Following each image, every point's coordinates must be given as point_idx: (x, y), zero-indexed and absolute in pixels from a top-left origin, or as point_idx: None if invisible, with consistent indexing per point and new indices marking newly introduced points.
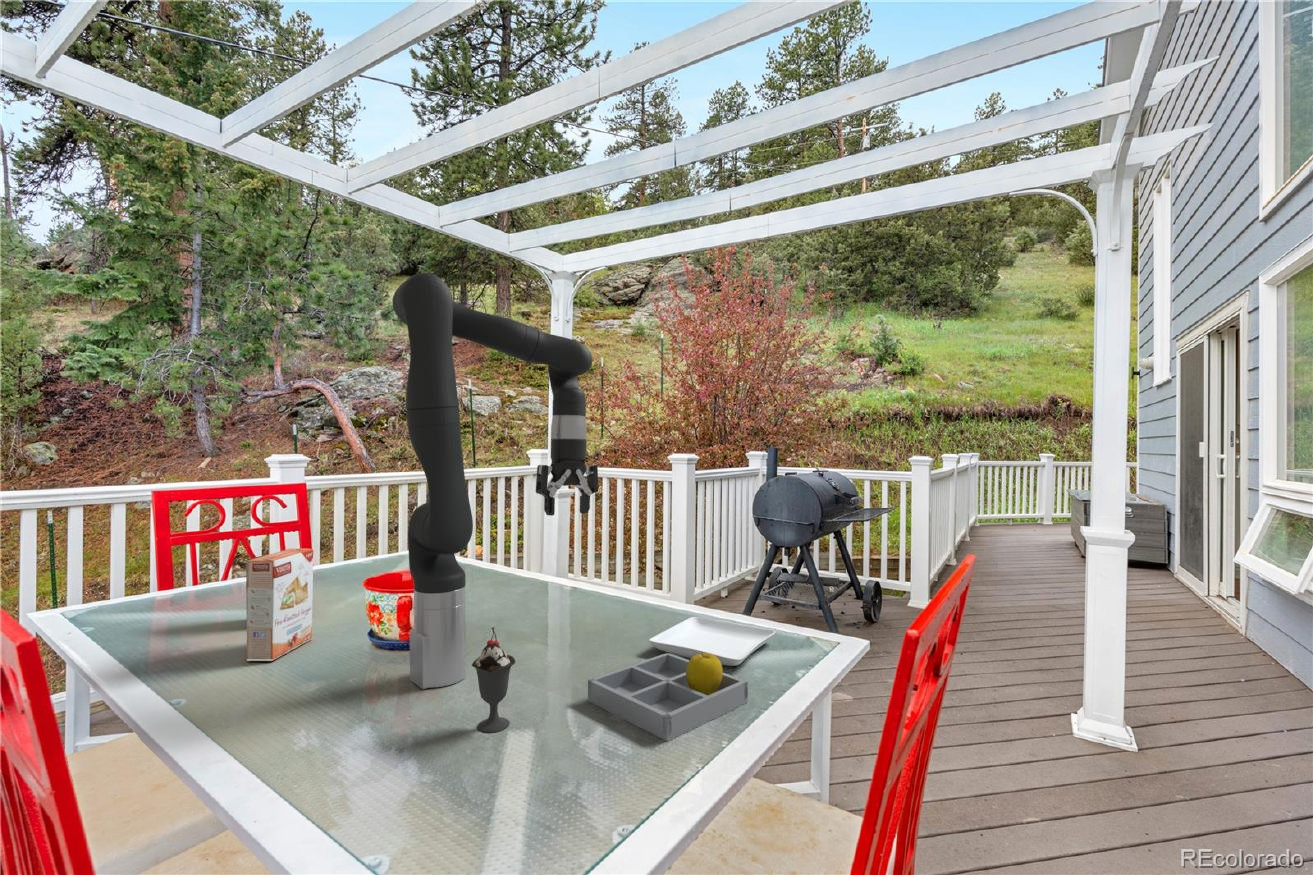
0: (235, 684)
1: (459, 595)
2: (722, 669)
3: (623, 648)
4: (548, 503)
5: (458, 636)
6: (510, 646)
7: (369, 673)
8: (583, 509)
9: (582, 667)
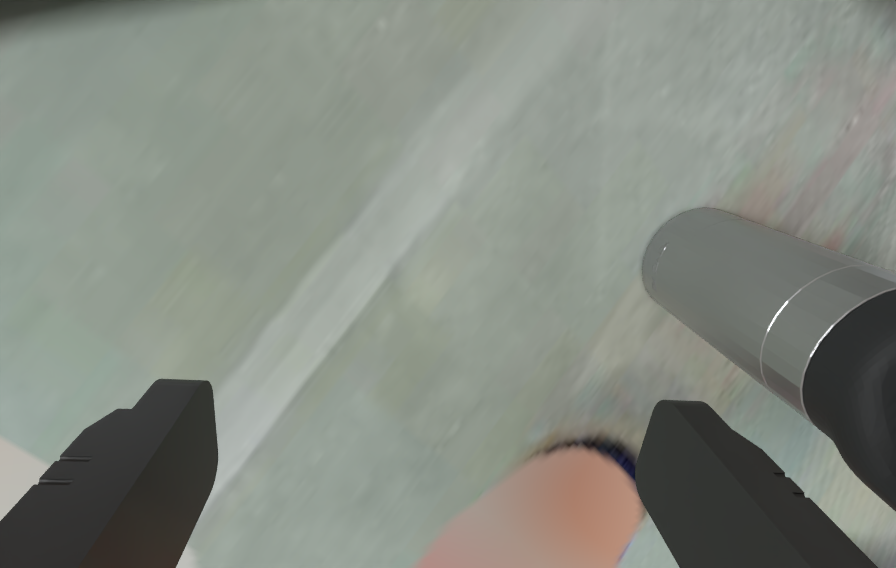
0: None
1: (864, 283)
2: None
3: (242, 76)
4: (822, 516)
5: (764, 239)
6: (467, 325)
7: (743, 381)
8: (194, 444)
9: (438, 51)
